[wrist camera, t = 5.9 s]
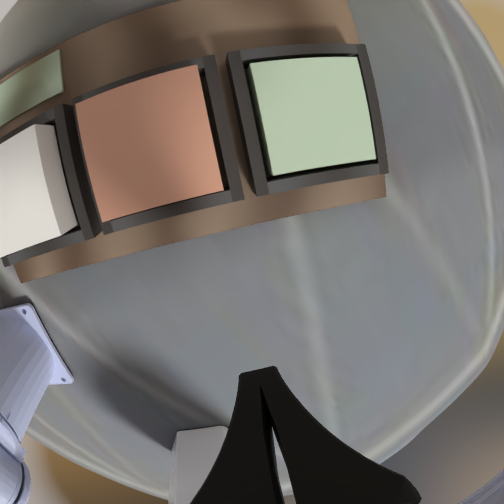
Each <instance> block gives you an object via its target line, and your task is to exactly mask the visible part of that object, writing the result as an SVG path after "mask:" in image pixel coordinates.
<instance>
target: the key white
mask: <svg viewBox="0 0 504 504" xmlns="http://www.w3.org/2000/svg"><path fill="white" fill-rule="evenodd" d="M76 225H78V224H77V221H76V218H75V215H74V211H73V208H72V204H71V201H70V197H69V193H68V189H67V186H66V182H65V178H64V173H63V169H62V165H61V160H60V155H59V151H58V146H57V140H56V135H55V129H54V126H53V125H40V124H34V125H32V126H30V127H28V128H27V129H25V130H23V131H21V132H20V133H18V134H16V135H15V136H13V137H11V138H10V139H8V140H6V141H5V142H3V143H2V144H0V258H1V257H3V256H6V255H9V254H11V253H14V252H16V251H19V250H22V249H24V248H27V247H30V246H33V245H35V244H38V243H41V242H44V241H47V240H50V239H53V238H55V237H58V236H61V235H63V234H64V233H66V232H67V231H69V230H70V229H72V228H73V227H75V226H76Z"/></svg>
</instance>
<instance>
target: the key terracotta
mask: <svg viewBox="0 0 504 504" xmlns="http://www.w3.org/2000/svg"><path fill="white" fill-rule="evenodd" d="M75 106H76V113H77V119H78V124H79V130H80V135H81V140H82V145H83V150H84V155H85V159H86V164H87V168H88V172H89V176H90V180H91V184H92V188H93V192H94V196H95V199H96V203H97V206H98V210H99V213H100V217H101V220H102V222H105V221H109V220H112V219H115V218H119V217H122V216H126V215H129V214H133V213H136V212H140V211H143V210H147V209H151V208H154V207H158V206H162V205H165V204H169V203H173V202H177V201H181V200H185V199H189V198H193V197H197V196H201V195H206V194H210V193H214V192H218V191H223V190H224V189H223V185H222V180H221V175H220V171H219V166H218V162H217V157H216V152H215V148H214V143H213V138H212V134H211V129H210V124H209V119H208V115H207V110H206V105H205V100H204V95H203V91H202V86H201V81H200V76H199V71H198V66H197V65H192V66H188V67H184V68H180V69H176V70H172V71H168V72H164V73H161V74H157V75H154V76H150V77H147V78H144V79H141V80H137V81H134V82H131V83H128V84H125V85H122V86H120V87H117V88H114V89H111V90H109V91H106V92H103V93H101V94H98V95H96V96H93V97H91V98H88V99H86V100H84V101H81V102H79V103H77V104H75Z"/></svg>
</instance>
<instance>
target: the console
mask: <svg viewBox="0 0 504 504" xmlns="http://www.w3.org/2000/svg"><path fill="white" fill-rule="evenodd" d="M315 57H357V59H358V63H359V68H360V72H361V76H362V81H363V85H364V90H365V95H366V100H367V105H368V110H369V116H370V122H371V128H372V134H373V141H374V148H375V155H376V159H372V160H365V161H357V162H350V163H344V164H337V165H331V166H324V167H318V168H312V169H306V170H301V171H295V172H290V173H284V174H279V175H274V176H273V175H271V174H268V173H266V171H265V166H264V161H263V155H262V150H261V145H260V140H259V135H258V130H257V126H256V121H255V116H254V111H253V106H252V101H251V97H250V92H249V87H248V83H247V78H246V71H247V69H248V67H249V65H250V63H257V62H265V61H274V60H284V59H297V58H315ZM192 65H197V66H198V71H199V76H200V81H201V86H202V91H203V95H204V100H205V105H206V110H207V115H208V119H209V124H210V129H211V134H212V138H213V143H214V148H215V152H216V157H217V162H218V166H219V171H220V175H221V180H222V185H223V189H224V190H223V191H218V192H214V193H210V194H206V195H201V196H197V197H193V198H189V199H185V200H181V201H177V202H173V203H169V204H165V205H162V206H158V207H154V208H151V209H147V210H143V211H140V212H136V213H133V214H129V215H126V216H122V217H119V218H115V219H112V220H109V221H105V222H102V220H101V217H100V213H99V210H98V206H97V203H96V199H95V196H94V192H93V188H92V184H91V180H90V176H89V172H88V168H87V164H86V159H85V155H84V150H83V145H82V140H81V135H80V130H79V124H78V119H77V113H76V106H75V104H77V103H79V102H81V101H84V100H86V99H88V98H91V97H93V96H96V95H98V94H101V93H103V92H106V91H109V90H111V89H114V88H117V87H120V86H122V85H125V84H128V83H131V82H134V81H137V80H141V79H144V78H147V77H150V76H154V75H157V74H161V73H164V72H168V71H172V70H176V69H180V68H184V67H188V66H192ZM34 124H40V125H53V126H54V129H55V135H56V140H57V146H58V151H59V155H60V160H61V165H62V169H63V173H64V178H65V182H66V186H67V189H68V193H69V197H70V201H71V204H72V208H73V211H74V215H75V218H76V221H77V224H78V225H76V226H75V227H73V228H72V229H70V230H69V231H67V232H66V233H64V234H63V235H61V236H58V237H55V238H53V239H50V240H47V241H44V242H41V243H38V244H35V245H33V246H30V247H27V248H24V249H22V250H19V251H16V252H14V253H11V254H9V255H6V256H3V257H1V259H2V261H3V264H4V267H7V266H9V265H12V264H14V267H15V270H16V272H17V275H18V277H19V280H20V282H21V283H24V282H27V281H31V280H34V279H38V278H41V277H45V276H49V275H52V274H56V273H59V272H63V271H67V270H70V269H74V268H78V267H81V266H85V265H89V264H93V263H96V262H100V261H104V260H108V259H112V258H116V257H119V256H123V255H127V254H131V253H135V252H139V251H143V250H147V249H151V248H155V247H159V246H163V245H167V244H171V243H175V242H179V241H184V240H188V239H192V238H196V237H200V236H205V235H209V234H213V233H217V232H222V231H226V230H230V229H235V228H239V227H244V226H248V225H253V224H257V223H262V222H266V221H271V220H275V219H280V218H284V217H289V216H294V215H298V214H303V213H308V212H313V211H317V210H322V209H327V208H332V207H337V206H342V205H347V204H352V203H357V202H362V201H367V200H372V199H377V198H383V197H386V188H385V177H384V174H386V173H389V171H388V162H387V154H386V146H385V139H384V132H383V126H382V119H381V114H380V108H379V103H378V97H377V92H376V88H375V83H374V78H373V74H372V70H371V66H370V61H369V58H368V54H367V50H366V46H365V44H360V42H359V38H358V35H357V31H356V28H355V24H354V21H353V18H352V15H351V12H350V9H349V6H348V3H347V0H181V1H176V2H172V3H168V4H164V5H160V6H157V7H153V8H149V9H146V10H143V11H139V12H136V13H133V14H130V15H127V16H124V17H121V18H119V19H116V20H113V21H110V22H108V23H105V24H103V25H100V26H98V27H95V28H93V29H90V30H88V31H86V32H84V33H81V34H79V35H77V36H75V37H73V38H71V39H69V40H66V41H64V42H62V43H60V44H59V45H57V46H55V47H53V48H51V49H49V50H47V51H45V52H44V53H42V54H40V55H38V56H37V57H35V58H33V59H31V60H30V61H28V62H26V63H25V64H23V65H22V66H20V67H19V68H17V69H15V70H14V71H12V72H11V73H9V74H8V75H6V76H5V77H4V78H2V79H1V80H0V144H2V143H3V142H5V141H6V140H8V139H10V138H11V137H13V136H15V135H16V134H18V133H20V132H21V131H23V130H25V129H27V128H28V127H30V126H32V125H34Z"/></svg>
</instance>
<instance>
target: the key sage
mask: <svg viewBox="0 0 504 504" xmlns="http://www.w3.org/2000/svg"><path fill="white" fill-rule="evenodd" d="M246 78H247V83H248V87H249V92H250V97H251V101H252V106H253V111H254V116H255V121H256V126H257V130H258V135H259V140H260V145H261V150H262V155H263V161H264V166H265V171H266V173H268V174H271V175H273V176H274V175H279V174H284V173H290V172H295V171H301V170H306V169H312V168H318V167H324V166H331V165H337V164H344V163H350V162H357V161H365V160H372V159H376V155H375V148H374V141H373V134H372V128H371V122H370V116H369V110H368V105H367V100H366V95H365V90H364V85H363V81H362V76H361V72H360V68H359V63H358V59H357V57H315V58H297V59H284V60H274V61H265V62H257V63H250V65H249V67H248V69H247V71H246Z"/></svg>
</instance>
